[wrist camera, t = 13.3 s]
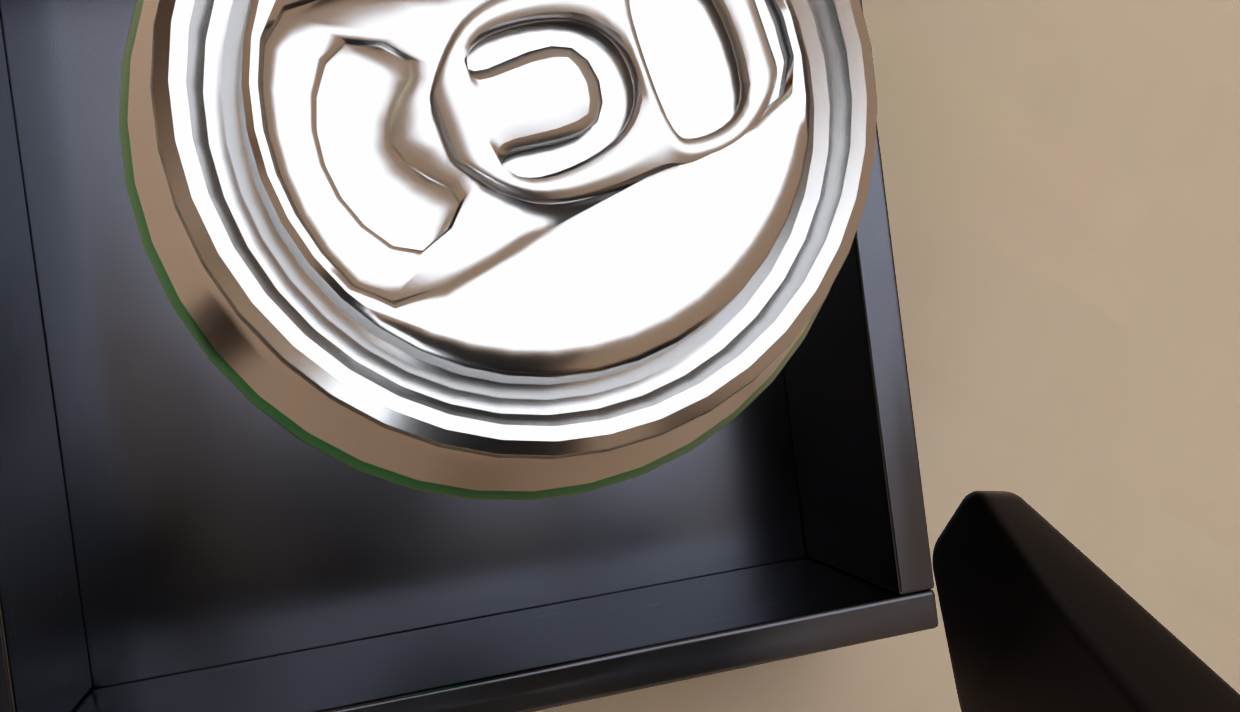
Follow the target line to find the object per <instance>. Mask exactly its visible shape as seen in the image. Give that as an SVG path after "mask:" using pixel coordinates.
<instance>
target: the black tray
mask: <svg viewBox="0 0 1240 712" xmlns="http://www.w3.org/2000/svg"><path fill="white" fill-rule="evenodd" d="M859 1H860V5H861V8H862V1H861V0H859ZM135 3H136V0H0V712H533V711H538V710H543V709H548V708H552V707H557V706H562V705H567V704H572V703H576V702H581V701H586V700H591V699H596V698H600V697H605V696H610V695H615V694H620V693H624V692H629V691H634V690H639V689H644V688H648V687H653V686H658V685H663V684H668V683H672V682H677V681H682V680H687V679H692V678H696V677H701V676H706V675H711V674H716V673H721V672H725V671H730V670H735V669H740V668H745V667H749V666H754V665H759V664H764V663H769V662H773V661H778V660H783V659H788V658H793V657H797V656H802V655H807V654H812V653H817V652H821V651H826V650H831V649H836V648H841V647H845V646H850V645H855V644H860V643H865V642H869V641H874V640H879V639H884V638H889V637H893V636H898V635H903V634H908V633H913V632H917V631H922V630H927V629H932V628H935V627H937V626H938V618H937V610H936V602H935V594H934V592H933V590H931V589H932V588H934V582H933V574H932V566H931V558H930V549H929V541H928V533H927V525H926V517H925V509H924V501H923V493H922V485H921V477H920V469H919V461H918V453H917V445H916V437H915V428H914V420H913V412H912V404H911V396H910V388H909V380H908V372H907V364H906V356H905V348H904V340H903V332H902V324H901V316H900V307H899V299H898V291H897V283H896V275H895V267H894V259H893V251H892V243H891V235H890V227H889V219H888V211H887V203H886V194H885V186H884V178H883V170H882V162H881V154H880V146H879V138H878V130H877V122H876V144H875V156H874V161H873V167H872V172H871V178H870V183H869V189H868V194H867V200H866V204H865V207H864V210H863V213H862V216H861V219H860V222H859V225H858V228H857V231H856V233H855V236H854V239H853V242H852V245H851V248H850V251H849V253H848V255H847V257H846V259H845V261H844V263H843V265H842V267H841V269H840V271H839V273H838V274H837V276H836V278H835V280H834V282H833V284H832V286H831V288H830V291H829V293H828V295H827V297H826V299H825V301H824V303H823V305H822V306H821V308H820V310H819V312H818V314H817V316H816V318H815V320H814V322H813V324H812V326H811V327H810V329H809V331H808V333H807V335H806V337H805V339H804V340H803V342H802V343H801V344H800V346H799V347H798V348H797V350H796V351H795V352H794V354H793V355H792V356H791V358H790V359H789V361H788V362H787V363H786V365H785V366H784V367H783V369H782V370H781V371H780V373H779V374H778V375H777V377H776V378H775V379H774V381H773V382H772V383H771V384H770V385H769V386H768V387H767V388H766V389H765V390H764V391H763V392H762V393H761V394H760V395H759V396H758V397H757V398H756V399H755V400H754V401H753V402H752V403H751V404H750V405H749V406H748V407H747V408H746V409H745V410H744V411H743V412H742V413H741V414H740V415H739V416H738V417H737V418H736V419H734V420H733V421H732V422H730V423H729V424H727V425H726V426H725V427H723V428H722V429H720V430H719V431H718V432H716V433H715V434H713V435H712V436H711V437H709V438H708V439H706V440H705V441H704V442H702V443H701V444H699V445H698V446H697V447H695V448H694V449H692V450H691V451H689V452H687V453H685V454H683V455H681V456H679V457H677V458H675V459H673V460H671V461H669V462H667V463H665V464H663V465H661V466H659V467H657V468H655V469H653V470H651V471H649V472H647V473H645V474H643V475H641V476H638V477H635V478H632V479H628V480H625V481H622V482H619V483H616V484H613V485H609V486H606V487H603V488H600V489H597V490H593V491H590V492H586V493H579V494H572V495H566V496H559V497H552V498H545V499H538V500H531V501H529V500H471V499H466V498H460V497H454V496H448V495H442V494H436V493H431V492H425V491H419V490H414V489H411V488H408V487H405V486H402V485H399V484H396V483H393V482H390V481H387V480H384V479H381V478H378V477H375V476H373V475H370V474H367V473H364V472H361V471H358V470H356V469H354V468H352V467H350V466H348V465H346V464H344V463H342V462H340V461H338V460H337V459H335V458H333V457H331V456H329V455H327V454H325V453H323V452H321V451H319V450H318V449H316V448H314V447H312V446H310V445H308V444H306V443H304V442H302V441H301V440H300V439H298V438H297V437H296V436H294V435H293V434H292V433H290V432H289V431H288V430H286V429H285V428H284V427H282V426H281V425H280V424H278V423H277V422H276V421H274V420H273V419H272V418H270V417H269V416H268V415H266V414H265V413H264V412H262V411H261V410H260V409H258V408H257V407H256V406H254V405H253V404H252V403H251V402H250V401H249V400H248V399H247V398H246V397H245V396H244V395H243V394H242V393H241V392H240V391H239V390H238V389H237V388H236V387H235V386H234V385H233V384H232V383H231V382H230V381H229V380H228V378H227V377H226V376H225V375H224V374H223V373H222V372H221V371H220V370H219V369H218V368H217V367H216V366H215V365H214V364H213V363H212V362H211V361H210V360H209V359H208V358H207V356H206V355H205V353H204V352H203V350H202V349H201V348H200V346H199V345H198V343H197V342H196V340H195V339H194V338H193V336H192V335H191V333H190V332H189V330H188V329H187V328H186V326H185V325H184V323H183V322H182V320H181V319H180V318H179V316H178V315H177V313H176V312H175V310H174V309H173V308H172V306H171V304H170V302H169V300H168V298H167V296H166V294H165V291H164V289H163V287H162V285H161V283H160V281H159V279H158V277H157V275H156V273H155V271H154V269H153V267H152V265H151V262H150V260H149V258H148V256H147V254H146V252H145V250H144V247H143V244H142V240H141V237H140V234H139V230H138V227H137V223H136V220H135V217H134V213H133V210H132V206H131V203H130V199H129V196H128V193H127V189H126V183H125V174H124V166H123V158H122V149H121V141H120V132H119V109H120V89H121V70H122V60H123V56H124V51H125V47H126V42H127V38H128V34H129V29H130V25H131V20H132V16H133V12H134V7H135ZM862 12H863V9H862Z"/></svg>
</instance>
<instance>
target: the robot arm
mask: <svg viewBox="0 0 1240 712" xmlns="http://www.w3.org/2000/svg"><path fill="white" fill-rule="evenodd" d="M933 570H934V576H935V581H936V586H937V591H938V596H939V601H940V607H941V612H942V617H943V622H944V627H945V632H946V637H947V642H948V648H949V653H950V658H951V663H952V668H953V673H954V678H955V684H956V689H957V694H958V698H959V703H960V707H961V711H962V712H1240V695H1239V694H1238V693H1237V692H1236V691H1235V690H1234V689H1233V688H1232V687H1231V686H1230V685H1228V684H1227V683H1226V682H1225V681H1224V680H1223V679H1222V678H1221V677H1220V676H1218V675H1217V674H1216V673H1215V672H1214V671H1213V670H1212V669H1211V668H1210V667H1208V666H1207V665H1206V664H1205V663H1204V662H1203V661H1202V660H1201V659H1200V658H1198V657H1197V656H1196V655H1195V654H1194V653H1193V652H1192V651H1191V650H1190V649H1188V648H1187V647H1186V646H1185V645H1184V644H1183V643H1182V642H1181V641H1180V640H1178V639H1177V638H1176V637H1175V636H1174V635H1173V634H1172V633H1171V632H1170V631H1168V630H1167V629H1166V628H1165V627H1164V626H1163V625H1162V624H1161V623H1160V622H1158V621H1157V620H1156V619H1155V618H1154V617H1153V616H1152V615H1151V614H1150V613H1149V612H1147V611H1146V610H1145V609H1144V608H1143V607H1142V606H1141V605H1140V604H1139V603H1137V602H1136V601H1135V600H1134V599H1133V598H1132V597H1131V596H1130V595H1129V594H1127V593H1126V592H1125V591H1124V590H1123V589H1122V588H1121V587H1120V586H1119V585H1117V584H1116V583H1115V582H1114V581H1113V580H1112V579H1111V578H1110V577H1109V576H1107V575H1106V574H1105V573H1104V572H1103V571H1102V570H1101V569H1100V568H1099V567H1097V566H1096V565H1095V564H1094V563H1093V562H1092V561H1091V560H1090V559H1089V558H1087V557H1086V556H1085V555H1084V554H1083V553H1082V552H1081V551H1080V550H1079V549H1077V548H1076V547H1075V546H1074V545H1073V544H1072V543H1071V542H1070V541H1069V540H1067V539H1066V538H1065V537H1064V536H1063V535H1062V534H1061V533H1060V532H1059V531H1058V530H1056V529H1055V528H1054V527H1053V526H1052V525H1051V524H1050V523H1049V522H1048V521H1046V520H1045V519H1044V518H1043V517H1042V516H1041V515H1040V514H1039V513H1038V512H1036V511H1035V510H1034V509H1033V508H1032V507H1031V506H1030V505H1029V504H1028V503H1026V502H1025V501H1024V500H1023V499H1022V498H1020V497H1019V496H1017V495H1016V494H1014V493H1011V492H1005V491H975V492H972V493H970V494H968V495H967V496H966V497H965V498H964V499H963V501H962V502H961V504H960V505H959V507H958V508H957V510H956V512H955V513H954V515H953V516H952V518H951V519H950V521H949V522H948V524H947V526H946V527H945V529H944V530H943V532H942V533H941V535H940V537H939V538H938V540H937V542H936V544H935V547H934V551H933Z"/></svg>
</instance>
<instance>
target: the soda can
mask: <svg viewBox="0 0 1240 712" xmlns="http://www.w3.org/2000/svg"><path fill="white" fill-rule="evenodd" d="M876 115H877V94H876V85H875V76H874V67H873V58H872V49H871V44H870V40H869V36H868V32H867V28H866V24H865V20H864V16H863V12H862V8H861V5H860V1H859V0H136V3H135V7H134V12H133V16H132V20H131V25H130V29H129V34H128V38H127V42H126V47H125V51H124V56H123V60H122V70H121V89H120V109H119V132H120V141H121V149H122V158H123V166H124V174H125V183H126V189H127V193H128V196H129V199H130V203H131V206H132V210H133V213H134V217H135V220H136V223H137V227H138V230H139V234H140V237H141V240H142V244H143V247H144V250H145V252H146V254H147V256H148V258H149V260H150V262H151V265H152V267H153V269H154V271H155V273H156V275H157V277H158V279H159V281H160V283H161V285H162V287H163V289H164V291H165V294H166V296H167V298H168V300H169V302H170V304H171V306H172V308H173V309H174V310H175V312H176V313H177V315H178V316H179V318H180V319H181V320H182V322H183V323H184V325H185V326H186V328H187V329H188V330H189V332H190V333H191V335H192V336H193V338H194V339H195V340H196V342H197V343H198V345H199V346H200V348H201V349H202V350H203V352H204V353H205V355H206V356H207V358H208V359H209V360H210V361H211V362H212V363H213V364H214V365H215V366H216V367H217V368H218V369H219V370H220V371H221V372H222V373H223V374H224V375H225V376H226V377H227V378H228V380H229V381H230V382H231V383H232V384H233V385H234V386H235V387H236V388H237V389H238V390H239V391H240V392H241V393H242V394H243V395H244V396H245V397H246V398H247V399H248V400H249V401H250V402H251V403H252V404H253V405H254V406H256V407H257V408H258V409H260V410H261V411H262V412H264V413H265V414H266V415H268V416H269V417H270V418H272V419H273V420H274V421H276V422H277V423H278V424H280V425H281V426H282V427H284V428H285V429H286V430H288V431H289V432H290V433H292V434H293V435H294V436H296V437H297V438H298V439H300V440H301V441H302V442H304V443H306V444H308V445H310V446H312V447H314V448H316V449H318V450H319V451H321V452H323V453H325V454H327V455H329V456H331V457H333V458H335V459H337V460H338V461H340V462H342V463H344V464H346V465H348V466H350V467H352V468H354V469H356V470H358V471H361V472H364V473H367V474H370V475H373V476H375V477H378V478H381V479H384V480H387V481H390V482H393V483H396V484H399V485H402V486H405V487H408V488H411V489H414V490H419V491H425V492H431V493H436V494H442V495H448V496H454V497H460V498H466V499H471V500H529V501H531V500H538V499H545V498H552V497H559V496H566V495H572V494H579V493H586V492H590V491H593V490H597V489H600V488H603V487H606V486H609V485H613V484H616V483H619V482H622V481H625V480H628V479H632V478H635V477H638V476H641V475H643V474H645V473H647V472H649V471H651V470H653V469H655V468H657V467H659V466H661V465H663V464H665V463H667V462H669V461H671V460H673V459H675V458H677V457H679V456H681V455H683V454H685V453H687V452H689V451H691V450H692V449H694V448H695V447H697V446H698V445H699V444H701V443H702V442H704V441H705V440H706V439H708V438H709V437H711V436H712V435H713V434H715V433H716V432H718V431H719V430H720V429H722V428H723V427H725V426H726V425H727V424H729V423H730V422H732V421H733V420H734V419H736V418H737V417H738V416H739V415H740V414H741V413H742V412H743V411H744V410H745V409H746V408H747V407H748V406H749V405H750V404H751V403H752V402H753V401H754V400H755V399H756V398H757V397H758V396H759V395H760V394H761V393H762V392H763V391H764V390H765V389H766V388H767V387H768V386H769V385H770V384H771V383H772V382H773V381H774V379H775V378H776V377H777V375H778V374H779V373H780V371H781V370H782V369H783V367H784V366H785V365H786V363H787V362H788V361H789V359H790V358H791V356H792V355H793V354H794V352H795V351H796V350H797V348H798V347H799V346H800V344H801V343H802V342H803V340H804V339H805V337H806V335H807V333H808V331H809V329H810V327H811V326H812V324H813V322H814V320H815V318H816V316H817V314H818V312H819V310H820V308H821V306H822V305H823V303H824V301H825V299H826V297H827V295H828V293H829V291H830V288H831V286H832V284H833V282H834V280H835V278H836V276H837V274H838V273H839V271H840V269H841V267H842V265H843V263H844V261H845V259H846V257H847V255H848V253H849V251H850V248H851V245H852V242H853V239H854V236H855V233H856V231H857V228H858V225H859V222H860V219H861V216H862V213H863V210H864V207H865V204H866V200H867V194H868V189H869V183H870V178H871V172H872V167H873V161H874V156H875V144H876Z"/></svg>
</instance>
